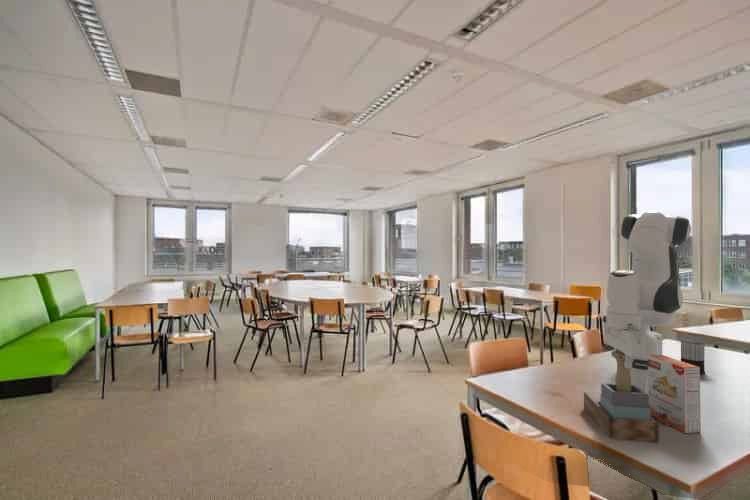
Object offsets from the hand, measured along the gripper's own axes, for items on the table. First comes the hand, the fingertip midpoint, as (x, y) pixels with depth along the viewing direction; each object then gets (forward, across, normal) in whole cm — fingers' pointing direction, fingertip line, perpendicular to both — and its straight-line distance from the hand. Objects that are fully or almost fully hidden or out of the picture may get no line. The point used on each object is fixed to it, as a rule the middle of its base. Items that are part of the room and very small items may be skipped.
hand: (623, 365), depth 117 cm
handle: (+11, 0, 0) cm, 11 cm away
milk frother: (+21, +75, -56) cm, 96 cm away
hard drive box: (+21, +62, -32) cm, 72 cm away
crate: (+19, 0, 0) cm, 19 cm away
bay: (+21, +5, 0) cm, 21 cm away
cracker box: (+21, +9, -18) cm, 29 cm away
